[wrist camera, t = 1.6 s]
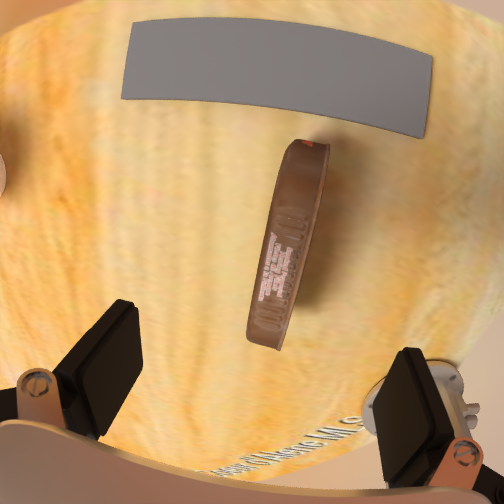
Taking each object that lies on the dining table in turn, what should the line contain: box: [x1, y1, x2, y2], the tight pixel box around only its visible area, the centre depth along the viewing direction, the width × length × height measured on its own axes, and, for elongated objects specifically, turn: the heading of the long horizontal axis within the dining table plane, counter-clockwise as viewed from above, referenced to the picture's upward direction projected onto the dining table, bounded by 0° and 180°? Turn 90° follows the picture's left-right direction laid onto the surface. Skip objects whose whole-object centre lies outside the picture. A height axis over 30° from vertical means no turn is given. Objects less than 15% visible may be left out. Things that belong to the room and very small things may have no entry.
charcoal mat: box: [121, 18, 432, 139], centre depth 21 cm, size 24×7×1 cm, turn 82°
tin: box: [246, 139, 330, 351], centre depth 22 cm, size 15×3×8 cm, turn 170°
